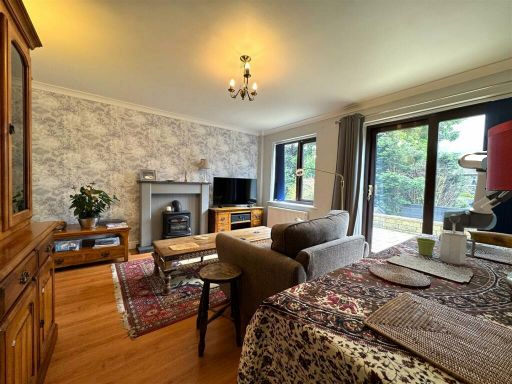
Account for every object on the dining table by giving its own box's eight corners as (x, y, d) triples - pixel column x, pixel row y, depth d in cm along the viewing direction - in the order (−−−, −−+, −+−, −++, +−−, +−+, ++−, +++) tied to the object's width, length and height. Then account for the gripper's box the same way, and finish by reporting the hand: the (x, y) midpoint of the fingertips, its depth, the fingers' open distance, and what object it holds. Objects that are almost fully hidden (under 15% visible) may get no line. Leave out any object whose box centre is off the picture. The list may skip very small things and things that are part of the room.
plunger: (442, 249, 123) (444, 213, 122) (459, 252, 119) (462, 214, 118) (444, 253, 117) (447, 214, 116) (462, 256, 113) (465, 216, 112)
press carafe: (437, 256, 126) (439, 229, 125) (470, 261, 118) (472, 232, 118) (440, 262, 117) (442, 232, 116) (476, 267, 110) (478, 236, 109)
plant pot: (412, 252, 132) (412, 238, 131) (421, 250, 136) (421, 237, 135) (429, 257, 123) (430, 242, 123) (438, 255, 127) (439, 241, 127)
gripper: (507, 174, 115) (466, 200, 124) (530, 172, 94) (479, 204, 103) (521, 184, 112) (478, 210, 121) (548, 185, 91) (494, 216, 100)
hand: (479, 208), depth 112 cm, fingers open, 13 cm apart
